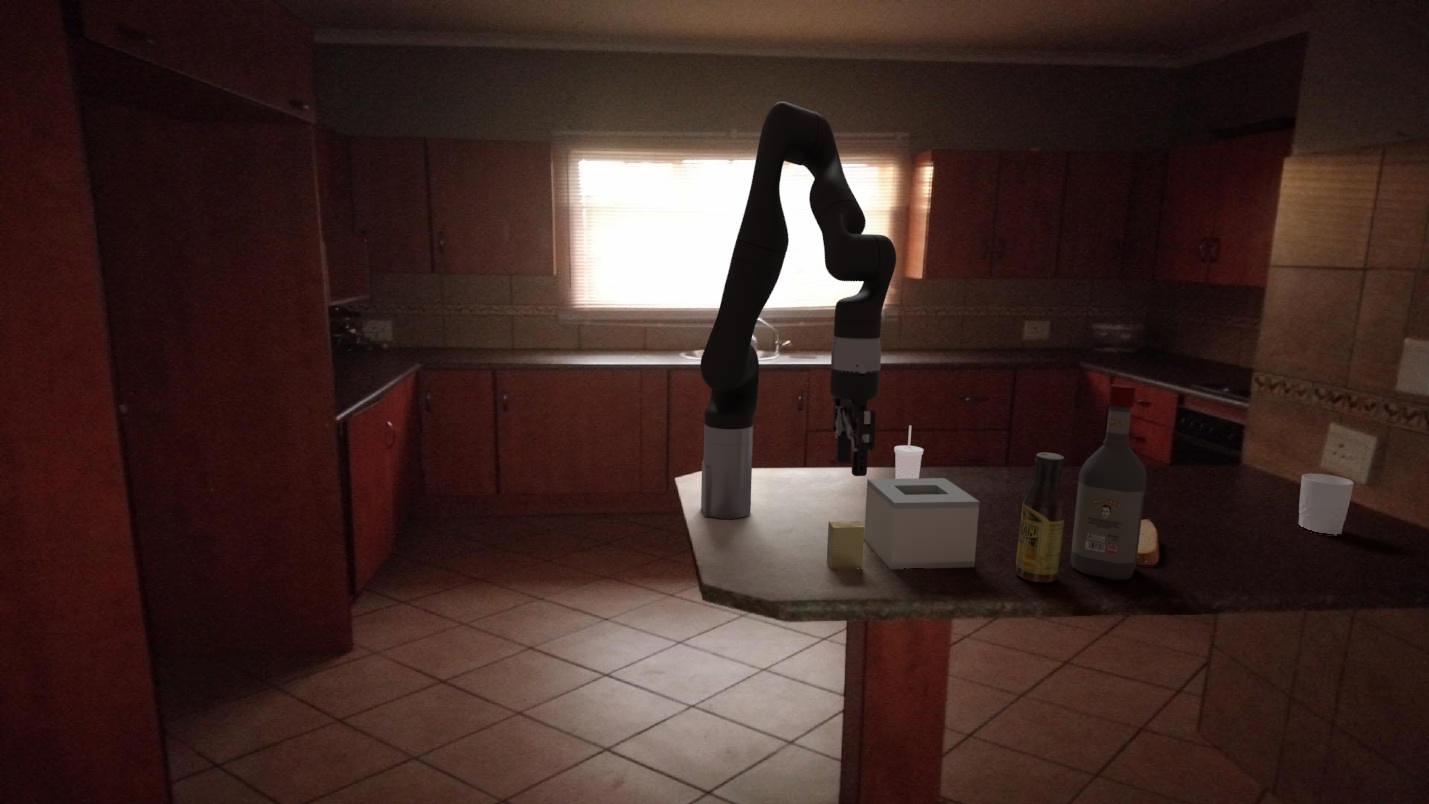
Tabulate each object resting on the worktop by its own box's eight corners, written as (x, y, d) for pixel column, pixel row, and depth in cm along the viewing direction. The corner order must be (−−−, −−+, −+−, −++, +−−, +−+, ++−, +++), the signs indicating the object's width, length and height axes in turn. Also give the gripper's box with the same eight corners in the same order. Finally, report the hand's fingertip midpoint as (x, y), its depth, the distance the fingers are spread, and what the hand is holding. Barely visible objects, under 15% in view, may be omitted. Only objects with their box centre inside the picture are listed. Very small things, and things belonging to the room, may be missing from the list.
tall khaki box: (831, 570, 132) (833, 527, 131) (826, 563, 135) (828, 521, 134) (862, 569, 133) (864, 527, 131) (856, 562, 136) (858, 521, 134)
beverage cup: (923, 493, 176) (928, 428, 174) (894, 492, 176) (898, 428, 174) (917, 485, 182) (921, 423, 180) (889, 485, 182) (893, 422, 180)
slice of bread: (1141, 571, 136) (1144, 549, 135) (1052, 536, 151) (1054, 517, 151) (1210, 555, 144) (1212, 534, 143) (1118, 524, 159) (1120, 505, 159)
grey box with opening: (890, 569, 133) (894, 502, 131) (864, 539, 146) (867, 479, 144) (974, 567, 134) (979, 501, 133) (940, 538, 148) (944, 478, 146)
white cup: (1339, 527, 160) (1347, 476, 158) (1350, 539, 153) (1359, 486, 151) (1290, 521, 163) (1298, 471, 161) (1298, 532, 156) (1306, 481, 154)
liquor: (1130, 583, 129) (1152, 392, 124) (1067, 571, 134) (1086, 386, 129) (1136, 566, 137) (1157, 385, 131) (1077, 554, 141) (1095, 379, 136)
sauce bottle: (1008, 570, 134) (1018, 449, 130) (1045, 569, 134) (1057, 449, 131) (1026, 586, 127) (1038, 459, 124) (1065, 585, 128) (1078, 459, 124)
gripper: (819, 360, 135) (816, 458, 138) (845, 372, 121) (840, 481, 124) (864, 360, 136) (860, 457, 139) (894, 372, 122) (889, 480, 125)
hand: (850, 468), depth 131 cm, fingers open, 8 cm apart
